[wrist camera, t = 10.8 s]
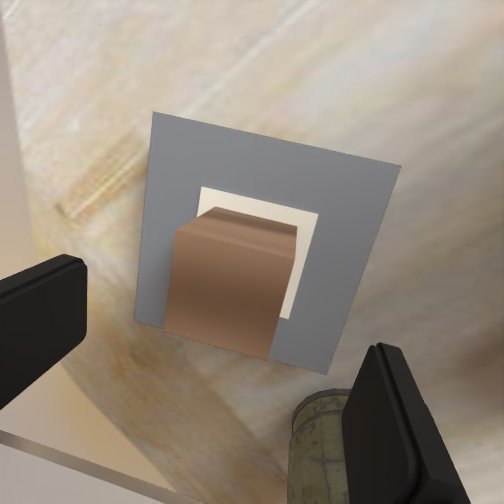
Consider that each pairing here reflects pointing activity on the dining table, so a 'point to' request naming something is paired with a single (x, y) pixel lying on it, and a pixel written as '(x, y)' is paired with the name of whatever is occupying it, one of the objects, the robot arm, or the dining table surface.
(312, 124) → the dining table surface
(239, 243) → the walnut block
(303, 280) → the slate pedestal
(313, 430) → the thermos
